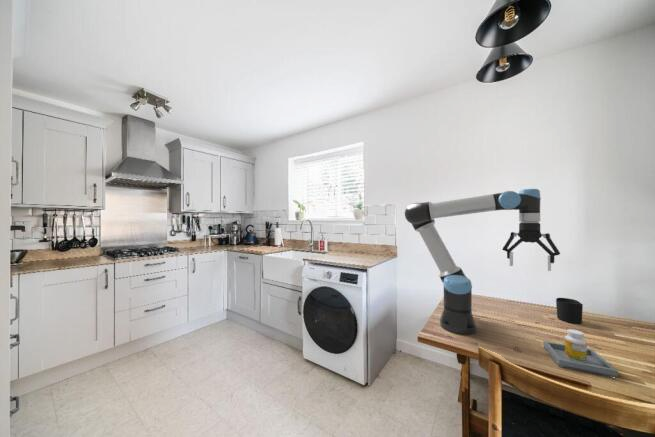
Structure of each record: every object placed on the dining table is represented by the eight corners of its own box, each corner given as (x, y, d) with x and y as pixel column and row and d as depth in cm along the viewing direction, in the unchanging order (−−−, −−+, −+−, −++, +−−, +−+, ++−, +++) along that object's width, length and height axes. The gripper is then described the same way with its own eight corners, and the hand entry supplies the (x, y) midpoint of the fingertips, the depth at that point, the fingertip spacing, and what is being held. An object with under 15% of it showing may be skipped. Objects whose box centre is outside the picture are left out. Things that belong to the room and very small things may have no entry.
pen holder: (587, 322, 116) (586, 302, 116) (576, 326, 113) (576, 305, 113) (562, 315, 125) (562, 296, 125) (552, 318, 121) (551, 299, 121)
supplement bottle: (564, 352, 89) (563, 326, 89) (585, 358, 85) (584, 331, 85) (566, 359, 84) (566, 332, 84) (588, 365, 81) (588, 336, 81)
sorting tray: (559, 366, 81) (559, 359, 81) (543, 347, 94) (543, 340, 94) (617, 378, 75) (617, 371, 75) (592, 356, 88) (592, 349, 88)
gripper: (568, 222, 102) (568, 271, 102) (499, 222, 121) (499, 263, 121) (566, 222, 97) (566, 273, 97) (495, 222, 117) (495, 264, 117)
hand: (529, 268), depth 109 cm, fingers open, 13 cm apart
